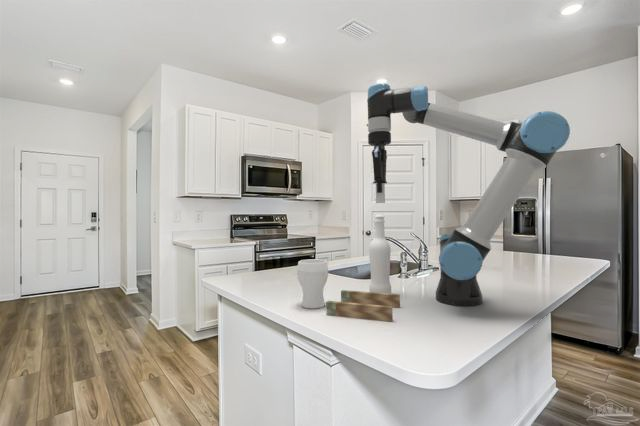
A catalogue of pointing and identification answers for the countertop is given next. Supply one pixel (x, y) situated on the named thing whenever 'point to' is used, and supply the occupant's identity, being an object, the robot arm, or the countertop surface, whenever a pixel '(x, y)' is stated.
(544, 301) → the countertop surface
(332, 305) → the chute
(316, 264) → the cup
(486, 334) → the countertop surface
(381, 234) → the bottle
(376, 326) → the countertop surface
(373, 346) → the countertop surface
